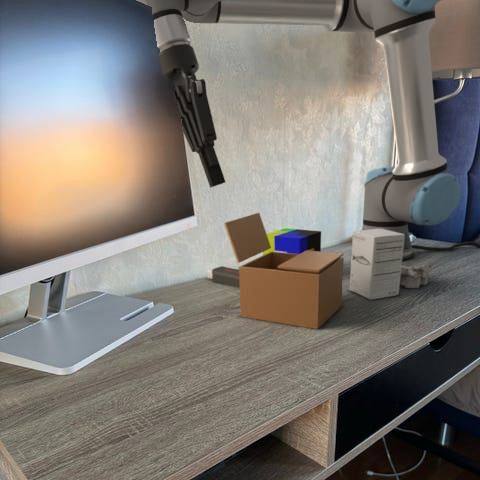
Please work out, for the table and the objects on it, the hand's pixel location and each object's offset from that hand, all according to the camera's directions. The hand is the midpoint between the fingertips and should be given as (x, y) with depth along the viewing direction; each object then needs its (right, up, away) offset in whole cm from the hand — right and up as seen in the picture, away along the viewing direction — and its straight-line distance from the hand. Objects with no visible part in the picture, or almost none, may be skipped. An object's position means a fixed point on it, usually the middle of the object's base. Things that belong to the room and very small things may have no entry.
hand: (217, 184), depth 84 cm
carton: (+14, -24, 0) cm, 28 cm away
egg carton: (+40, -17, +15) cm, 46 cm away
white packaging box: (+32, -20, +9) cm, 39 cm away
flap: (+6, -10, -1) cm, 12 cm away
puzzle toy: (+17, -14, +25) cm, 33 cm away
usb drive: (+2, -17, +21) cm, 27 cm away
